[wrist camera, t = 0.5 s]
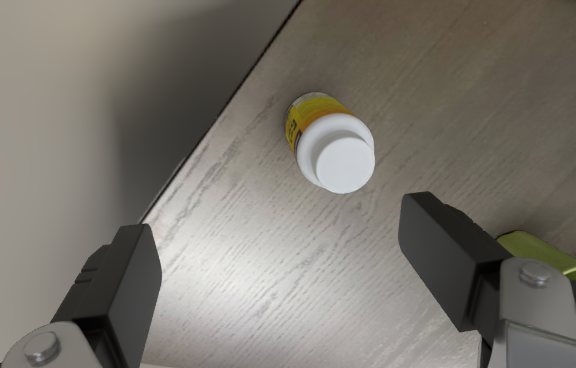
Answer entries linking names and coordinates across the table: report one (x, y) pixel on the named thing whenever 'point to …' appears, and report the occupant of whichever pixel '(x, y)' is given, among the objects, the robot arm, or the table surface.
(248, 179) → the table surface
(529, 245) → the plant pot
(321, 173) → the supplement bottle
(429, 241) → the robot arm
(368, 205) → the table surface
